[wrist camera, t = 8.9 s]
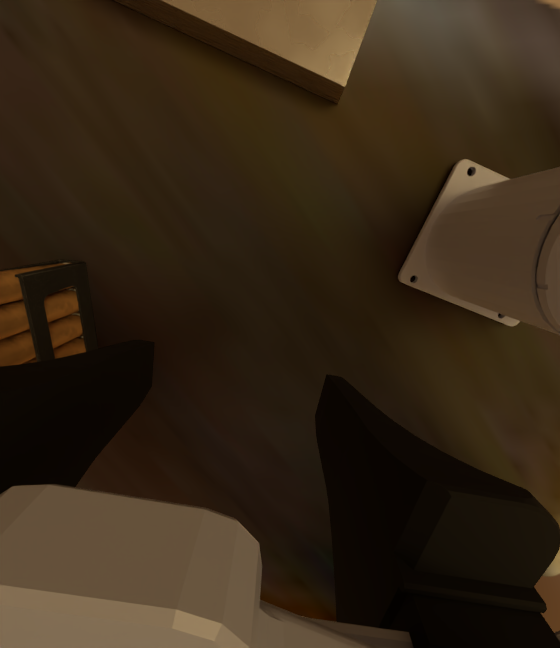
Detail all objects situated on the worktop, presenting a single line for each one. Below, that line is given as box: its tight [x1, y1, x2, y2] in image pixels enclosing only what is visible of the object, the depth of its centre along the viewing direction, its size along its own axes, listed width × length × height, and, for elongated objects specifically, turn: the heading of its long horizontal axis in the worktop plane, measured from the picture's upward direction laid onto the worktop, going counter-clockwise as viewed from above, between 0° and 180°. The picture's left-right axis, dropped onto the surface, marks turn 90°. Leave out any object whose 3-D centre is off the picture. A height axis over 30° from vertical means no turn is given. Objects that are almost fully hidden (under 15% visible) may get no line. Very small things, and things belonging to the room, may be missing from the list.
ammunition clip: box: [0, 260, 98, 367], centre depth 15 cm, size 11×2×12 cm, turn 176°
